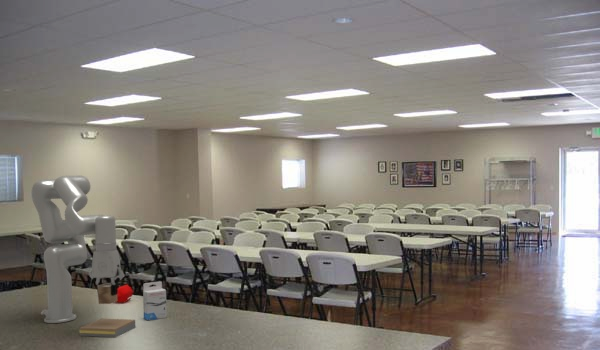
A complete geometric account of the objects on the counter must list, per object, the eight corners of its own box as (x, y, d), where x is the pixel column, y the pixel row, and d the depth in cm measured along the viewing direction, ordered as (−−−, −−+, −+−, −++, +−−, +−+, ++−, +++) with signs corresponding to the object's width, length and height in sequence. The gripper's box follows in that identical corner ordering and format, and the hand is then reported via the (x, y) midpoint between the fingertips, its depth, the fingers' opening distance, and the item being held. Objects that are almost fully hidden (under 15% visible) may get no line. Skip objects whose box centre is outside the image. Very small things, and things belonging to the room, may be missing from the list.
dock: (79, 336, 211) (79, 328, 211) (101, 326, 225) (101, 318, 225) (114, 337, 207) (114, 329, 207) (135, 327, 221) (135, 319, 221)
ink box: (147, 320, 231) (146, 285, 231) (143, 318, 236) (142, 283, 236) (167, 317, 236) (166, 282, 236) (163, 315, 240) (162, 280, 240)
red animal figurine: (107, 292, 267) (116, 289, 275) (114, 307, 266) (123, 303, 274) (120, 286, 265) (129, 282, 273) (127, 300, 265) (136, 296, 273)
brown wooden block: (98, 303, 214) (97, 285, 215) (106, 301, 219) (105, 283, 219) (110, 303, 213) (109, 285, 213) (117, 300, 218) (116, 282, 218)
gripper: (80, 249, 215) (82, 296, 215) (120, 248, 211) (122, 297, 211) (92, 246, 222) (94, 292, 222) (131, 246, 218) (132, 293, 218)
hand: (107, 294), depth 216 cm, fingers closed on brown wooden block, 5 cm apart
